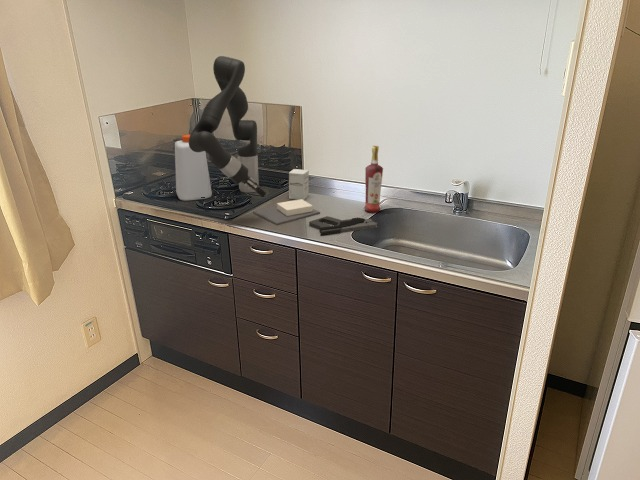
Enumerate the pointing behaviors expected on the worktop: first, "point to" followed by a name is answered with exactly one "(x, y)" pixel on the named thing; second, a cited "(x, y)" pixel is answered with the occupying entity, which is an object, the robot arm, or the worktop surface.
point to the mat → (281, 215)
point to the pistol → (341, 225)
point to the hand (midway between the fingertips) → (264, 194)
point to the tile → (294, 207)
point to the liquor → (373, 182)
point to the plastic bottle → (191, 172)
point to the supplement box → (298, 184)
